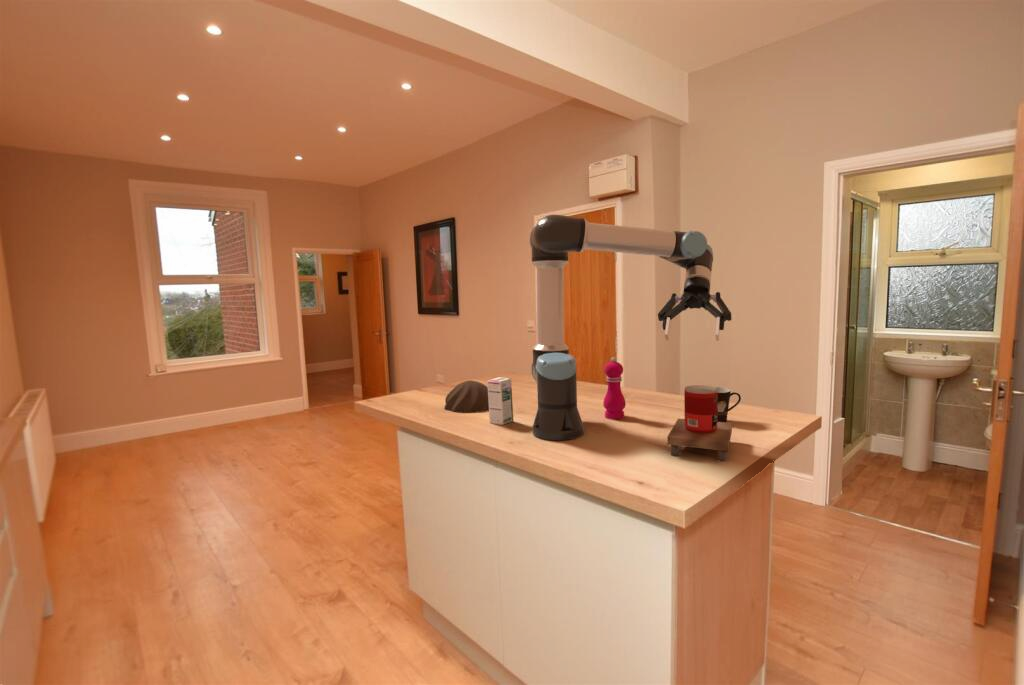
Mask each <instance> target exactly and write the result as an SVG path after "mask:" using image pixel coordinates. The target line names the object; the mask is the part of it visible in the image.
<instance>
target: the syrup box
mask: <svg viewBox="0 0 1024 685" xmlns="http://www.w3.org/2000/svg"><path fill="white" fill-rule="evenodd" d="M486 383H487V387H488V401H489V408H488V414H489V415H488V417H489V423H490V424H494V425H500V426H504V425H506V424H508V423H511V422H512V423H513V422H514V410H513V409H514V408H513V407H514V406H513V390H512V386H513V385H512V378H510V377H505V376H503V377H499V376H498V377H494V378H492V379H488V380H487V382H486Z"/></svg>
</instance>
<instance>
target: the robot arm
mask: <svg viewBox="0 0 1024 685" xmlns="http://www.w3.org/2000/svg"><path fill="white" fill-rule="evenodd" d="M529 245H530V248H531V264H532V265H533V266H534V267H535V269H536V320H537V321H536V328H537V329H536V333H537V336H536V337H537V339H536V340H537V342H536V343H535V345H534V346H533V347H532V362H531V367H530V368H531V371H530V372H531V375H532V378H533V380H534V382H536V384H537V386H536V387H537V389H536V391H537V411H536V414H535V418H534V420H533V421H534V422H533V424H532V434H533V435H534V436H535V437H536V438H538V439H541V440H548V441H566V440H567V441H568V440H573V439H577V438H580V437H582V436H583V435H584V434H585V433H584V431H585V428H584V423H583V420H582V417H581V415H580V412H579V408H578V395H577V394H578V393H577V392H578V390H577V389H578V388H577V386H578V385H577V384H578V383H577V370H578V367H577V361H576V358H575V357H574V356H573V355H572V354H570V350H569V346H568V345H567V344H566V343H565V302H564V301H565V292H564V291H565V289H564V287H565V282H564V281H565V278H564V276H565V273H564V272H565V270H564V268H565V266H566V265H568V264H569V253H573V252H574V253H575V252H576V253H583V252H584V251H585V250H590V251H602V252H612V253H622V254H633V255H646V256H654V257H655V256H656V257H658V258H660V259H662V260H664V261H667V262H669V263H672V264H674V265H676V266H679V267H681V268H683V269H684V270H685V275H684V285H683V292H682V294H681V295H679V294H678V295H677V294H676V293H672V294H671V296H670V299H669V300H668V301H667V302H666V303H665V305H664V306H663V307H662V308H661V310H660V311H659V312H658V313H657V317H658V318H657V319H658V321H659V322H662V329H663V331H664V338H665V341H669V339H670V332H671V326H672V325H671V324H672V322H671V321H672V320H673V319H674V318H675V317H677V316H678V315H679V314H680V313H682V312H683V311H686V310H688V309H692V310H693V309H700V310H701V308H702V309H704V310H705V311H707V312H708V313H710V314H711V315H712V316H713V317H714V318H716V324H715V341H716V342H719V341H720V331H724V330H725V322H726V321H727V322H729V321H732V312H731V311H730V309H729V307H728V306H727V304H726V303H725V302H724V300H723V299H722V298H721V292H720V291H717V292H715V294H711V293H710V291H711V281H712V271H713V270H712V269H713V262H714V251H713V248H712V247H711V245H709V244H708V240H707V237H706V235H705V234H704V233H702V232H701V231H698V230H689V231H678V230H676V231H675V230H667V229H660V228H659V229H657V228H647V227H635V226H626V225H618V224H617V225H616V224H608V223H607V224H606V223H596V222H589V221H587V219H586V218H585V217H584V218H583V217H582V218H581V217H574V216H569V215H562V214H549V215H545V216H544V217H542V218H540V220H538V222H537V223H536V224H535V226H534V227H533V228H532V230H531V232H530V236H529ZM711 300H712V301H713V302H714V303H715V304H716V305H717V307H718V308H717V307H716V306H715V305H713V304H712V303H711V302H710V301H711Z"/></svg>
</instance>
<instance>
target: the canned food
mask: <svg viewBox="0 0 1024 685" xmlns="http://www.w3.org/2000/svg"><path fill="white" fill-rule="evenodd" d="M715 387H716V386H711V385H710V386H709V385H701V384H700V385H699V384H697V385H688V386H685V387H684V394H683V396H684V397H683V398H684V419H685V428H686V430H688V431H690V432H694V433H713V432H715V431H716V430H717V406H718V391H717V388H715Z"/></svg>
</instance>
